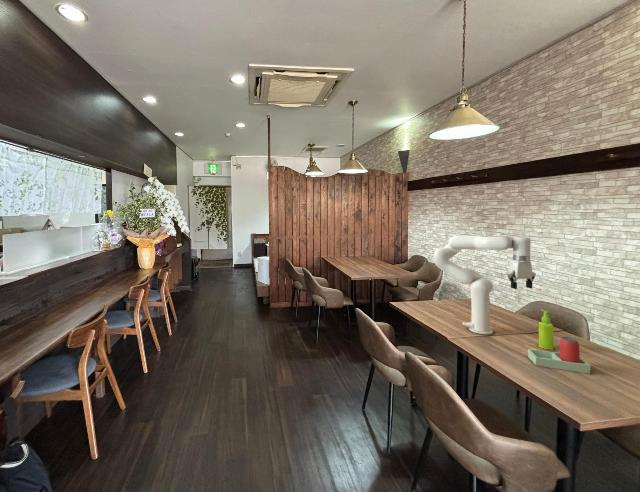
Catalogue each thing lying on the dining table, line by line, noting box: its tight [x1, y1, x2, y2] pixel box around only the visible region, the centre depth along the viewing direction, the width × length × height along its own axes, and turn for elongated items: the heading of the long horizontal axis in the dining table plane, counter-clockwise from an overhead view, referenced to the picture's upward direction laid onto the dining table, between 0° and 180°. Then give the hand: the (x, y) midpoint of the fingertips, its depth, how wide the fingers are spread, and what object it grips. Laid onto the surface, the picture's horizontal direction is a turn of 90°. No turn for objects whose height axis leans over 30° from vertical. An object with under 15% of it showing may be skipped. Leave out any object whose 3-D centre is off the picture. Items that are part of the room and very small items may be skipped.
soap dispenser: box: [538, 309, 554, 351], centre depth 156 cm, size 6×7×20 cm
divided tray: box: [527, 348, 591, 375], centre depth 138 cm, size 19×10×4 cm, turn 66°
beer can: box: [559, 336, 581, 363], centre depth 136 cm, size 7×7×12 cm
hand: (521, 288), depth 164 cm, fingers open, 9 cm apart
